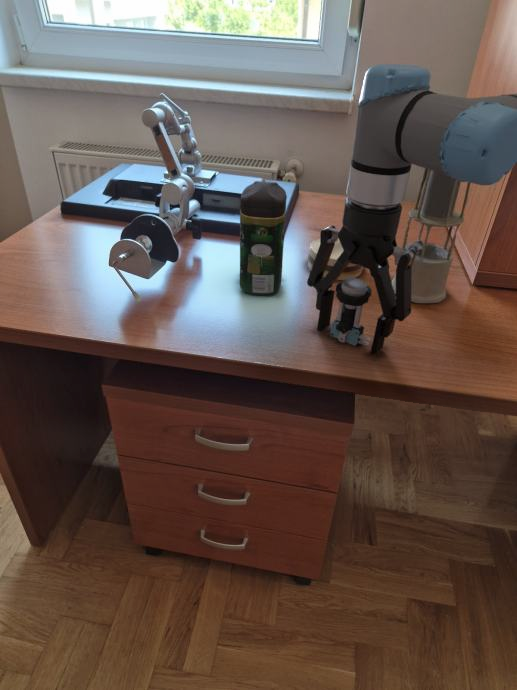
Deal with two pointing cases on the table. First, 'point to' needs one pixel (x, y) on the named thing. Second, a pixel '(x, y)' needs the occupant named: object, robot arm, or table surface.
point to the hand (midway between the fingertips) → (349, 338)
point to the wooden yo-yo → (334, 261)
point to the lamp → (429, 257)
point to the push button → (350, 311)
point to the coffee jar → (262, 237)
